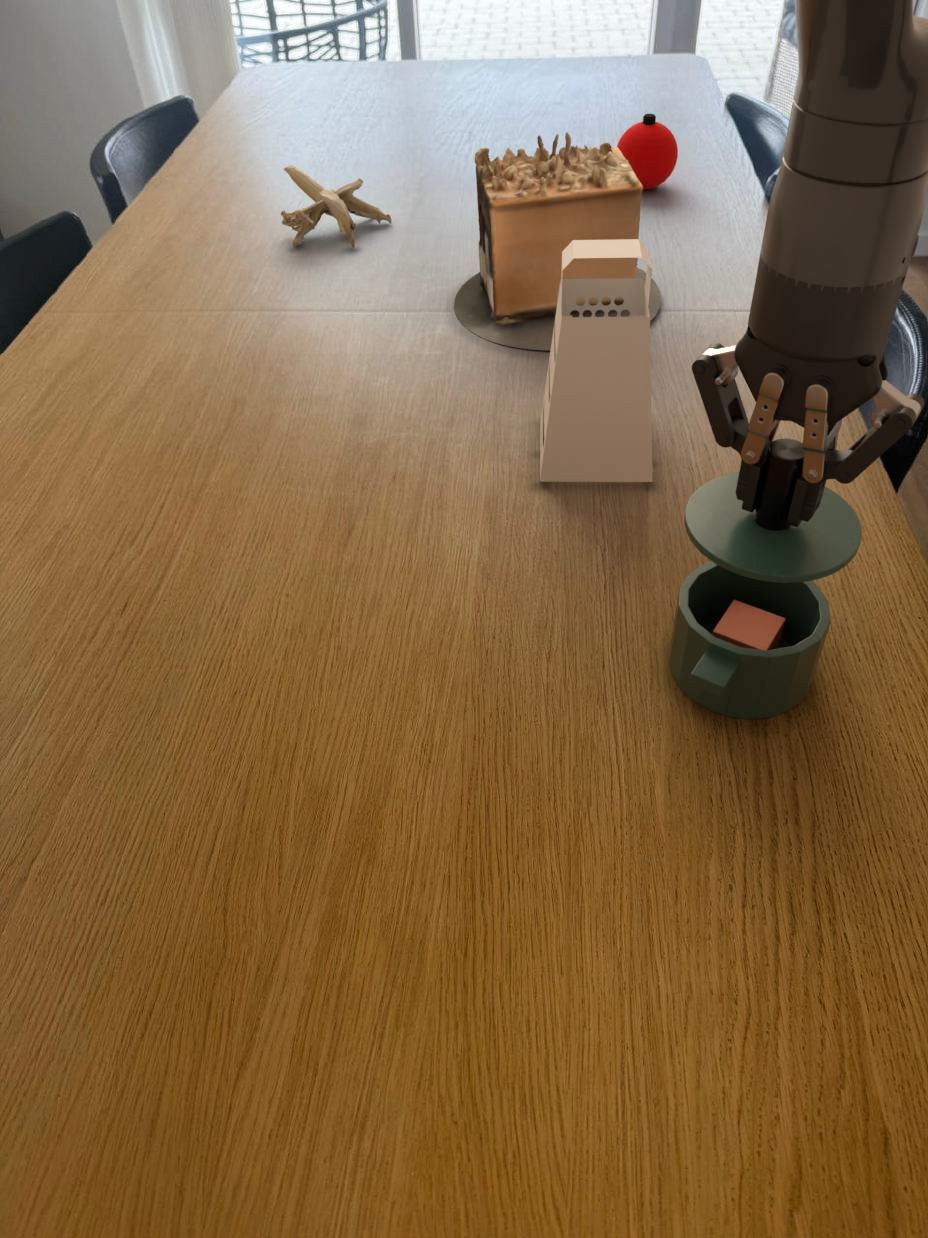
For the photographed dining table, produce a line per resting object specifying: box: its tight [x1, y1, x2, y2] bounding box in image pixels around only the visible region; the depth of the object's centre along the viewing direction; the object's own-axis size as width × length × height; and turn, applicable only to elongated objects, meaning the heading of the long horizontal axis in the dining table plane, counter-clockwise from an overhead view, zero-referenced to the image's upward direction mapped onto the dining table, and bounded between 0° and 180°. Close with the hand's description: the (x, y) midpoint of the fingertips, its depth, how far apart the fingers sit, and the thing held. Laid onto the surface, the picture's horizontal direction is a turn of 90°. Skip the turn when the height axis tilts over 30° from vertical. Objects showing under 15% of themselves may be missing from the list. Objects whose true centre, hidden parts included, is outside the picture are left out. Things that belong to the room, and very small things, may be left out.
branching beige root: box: [280, 164, 392, 249], centre depth 134 cm, size 9×16×15 cm
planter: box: [453, 132, 662, 351], centre depth 111 cm, size 25×25×19 cm
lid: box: [683, 438, 863, 583], centre depth 62 cm, size 11×11×7 cm
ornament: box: [616, 113, 679, 190], centre depth 140 cm, size 9×9×10 cm
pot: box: [668, 560, 832, 720], centre depth 71 cm, size 10×16×6 cm, turn 146°
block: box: [712, 600, 786, 650], centre depth 71 cm, size 4×4×4 cm
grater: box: [539, 238, 654, 483], centre depth 88 cm, size 10×10×20 cm
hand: (774, 511), depth 63 cm, fingers closed on lid, 2 cm apart
